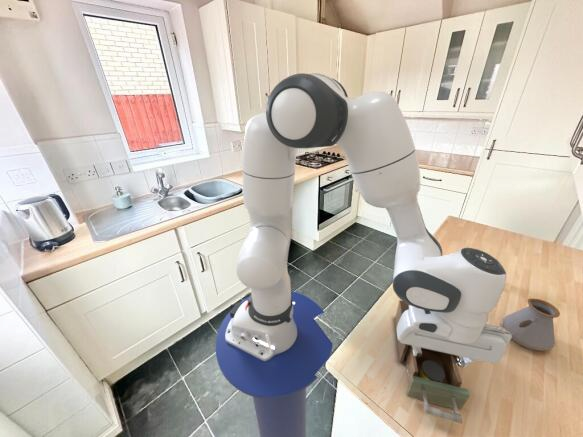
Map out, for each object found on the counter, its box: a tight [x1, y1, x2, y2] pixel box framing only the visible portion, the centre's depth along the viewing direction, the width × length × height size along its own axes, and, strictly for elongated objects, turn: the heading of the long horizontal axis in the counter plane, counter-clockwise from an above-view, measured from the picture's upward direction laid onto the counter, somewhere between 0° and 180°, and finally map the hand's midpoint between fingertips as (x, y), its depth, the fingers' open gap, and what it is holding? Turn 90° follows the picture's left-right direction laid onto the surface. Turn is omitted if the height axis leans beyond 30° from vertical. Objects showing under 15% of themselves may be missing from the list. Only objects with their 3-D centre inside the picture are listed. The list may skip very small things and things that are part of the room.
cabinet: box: [394, 300, 458, 365], centre depth 69 cm, size 15×13×9 cm
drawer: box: [405, 345, 471, 424], centre depth 59 cm, size 18×11×7 cm, turn 164°
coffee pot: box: [502, 297, 561, 352], centre depth 67 cm, size 21×12×15 cm, turn 119°
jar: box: [419, 360, 445, 383], centre depth 60 cm, size 5×5×4 cm
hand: (438, 358), depth 57 cm, fingers open, 8 cm apart
